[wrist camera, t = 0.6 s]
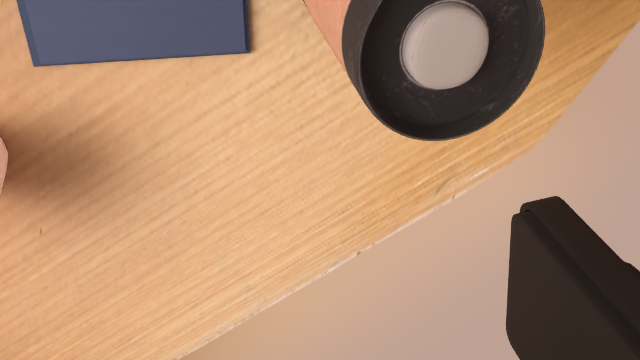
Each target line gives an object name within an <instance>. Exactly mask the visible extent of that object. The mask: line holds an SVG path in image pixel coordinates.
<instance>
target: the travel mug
mask: <svg viewBox="0 0 640 360" xmlns="http://www.w3.org/2000/svg"><path fill="white" fill-rule="evenodd" d="M303 1H304V3H305V5H306V7H307V9H308V11H309V13H310V15H311V17H312V18H313V20H314V22H315V23H316V25H317V26H318V28H319V30H320V31H321V33H322V35H323V36H324V38H325V39H326V41H327V43H328V44H329V46H330V48H331V49H332V51H333V52H334V54H335V56H336V57H337V59H338V61H339V62H340V64H341V65H342V67H343V69H344V70H345V72H346V74H347V75H348V77H349V78H350V80H351V82H352V83H353V85H354V87H355V88H356V90H357V92H358V93H359V95H360V96H361V98H362V100H363V101H364V103H365V105H366V106H367V107H368V109H369V110H370V111H371V112H372V114H373V115H374V116H375V117H376V118H377V119H378V120H379V121H380V122H381V123H382V124H384V125H385V126H387V127H388V128H389V129H391V130H392V131H394V132H396V133H398V134H400V135H403V136H406V137H409V138H412V139H418V140H423V141H442V140H449V139H455V138H459V137H462V136H465V135H468V134H470V133H473V132H475V131H477V130H479V129H481V128H483V127H485V126H487V125H488V124H490V123H491V122H493V121H494V120H496V119H497V118H499V117H500V116H501V115H502V114H503V113H504V112H506V111H507V110H508V109H509V108H510V107H511V106H512V105H513V104H514V103H515V102H516V101H517V99H518V98H519V97H520V96H521V94H522V93H523V92H524V90H525V89H526V87H527V86H528V84H529V83H530V81H531V79H532V77H533V75H534V73H535V71H536V69H537V66H538V64H539V61H540V58H541V55H542V50H543V46H544V38H545V19H544V13H543V7H542V4H541V1H540V0H303Z"/></svg>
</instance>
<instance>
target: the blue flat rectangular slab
mask: <svg viewBox="0 0 640 360" xmlns="http://www.w3.org/2000/svg"><path fill="white" fill-rule="evenodd" d="M17 4H18V8H19V12H20V16H21V19H22V23H23V27H24V31H25V35H26V38H27V42H28V46H29V50H30V54H31V58H32V61H33V65H34V67H35V66H51V65H67V64H83V63H99V62H115V61H131V60H146V59H162V58H178V57H194V56H210V55H226V54H242V53H250V40H249V22H248V4H247V0H17Z"/></svg>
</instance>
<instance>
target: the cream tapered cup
mask: <svg viewBox="0 0 640 360" xmlns="http://www.w3.org/2000/svg"><path fill="white" fill-rule="evenodd" d="M7 164H8V151H7V149H6V147H5V144H4V142H3V140H2V139H1V138H0V194H1V190H2V186H3V182H4V178H5V174H6V170H7Z"/></svg>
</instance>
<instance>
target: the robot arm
mask: <svg viewBox="0 0 640 360" xmlns="http://www.w3.org/2000/svg"><path fill="white" fill-rule="evenodd" d="M508 278H509V279H508V296H507V297H508V298H507V315H506V330H507V335H508V338H509V341H510V344H511V346H512V348H513V349H514V351H515V352H516V354H517V355H518V357H519V359H520V360H640V272H639V270H637V269H636V268H635V267H634V266H632V265H631V264H629V263H627V262H624V261H623V260H622V259H621V258H619V256H618V255H617V254H616V253H615V252H614V251H613V250H612V249H611V248H610V247H609V246H608V245H607V244H606V243H605V242H604V241H603V240H602V239H601V238H600V237H599V236H598V235H597V234H596V233H595V232H594V231H593V230H592V229H591V228H590V227H589V226H588V225H587V224H586V223H585V222H584V221H583V220H582V219H581V218H580V217H579V216H578V215H577V214H576V213H575V212H574V210H573V209H572V208H570V207H569V205H568V204H567V203H566V202H565V201H564V200H562V199H561V198H560V197H557V196H553V197H549V198H545V199H540V200H536V201H532V202H527V203H524V204H523V205H522V206H521V209H520V213H518V214H515V215H513V217H512V221H511V240H510V258H509V277H508Z"/></svg>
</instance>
